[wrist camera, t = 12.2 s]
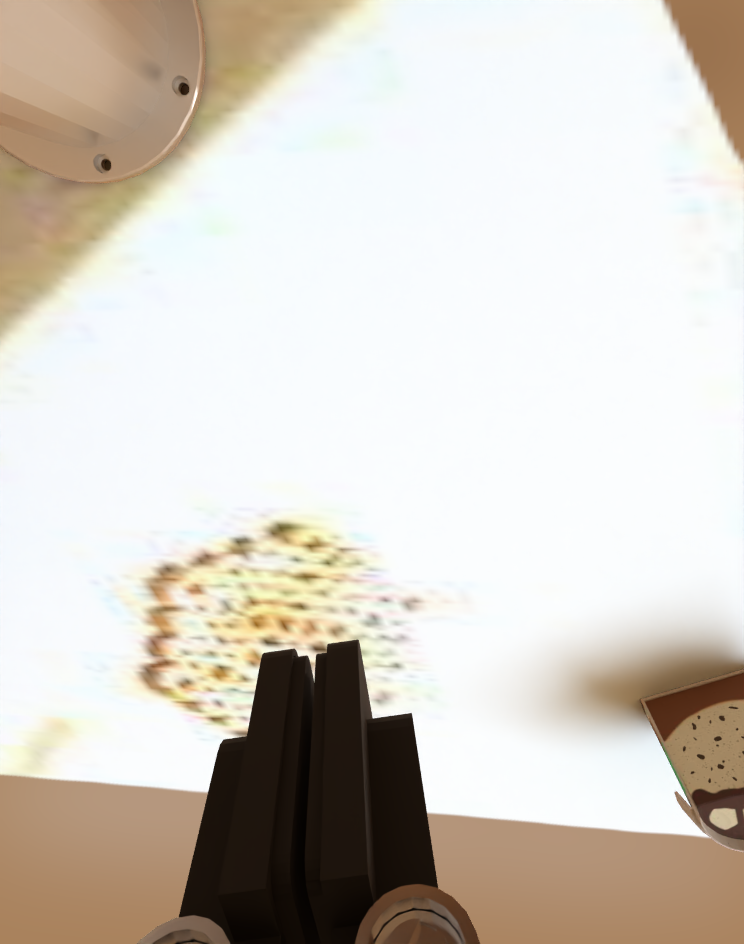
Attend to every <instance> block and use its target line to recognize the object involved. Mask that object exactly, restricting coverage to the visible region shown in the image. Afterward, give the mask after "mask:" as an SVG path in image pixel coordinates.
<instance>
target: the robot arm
mask: <svg viewBox="0 0 744 944" xmlns="http://www.w3.org/2000/svg"><path fill="white" fill-rule="evenodd" d="M205 60H206V46H205V38H204V30H203V22H202V17H201V14H200V10H199V7H198V3H197V0H0V147H1V148H3V149H4V150H5V151H6V152H8V153H9V154H11V155H12V156H14V157H15V158H17V159H19V160H20V161H22V162H23V163H25V164H27V165H28V166H30V167H32V168H35V169H37V170H40V171H42V172H44V173H47V174H49V175H52V176H54V177H58V178H62V179H67V180H71V181H77V182H86V183H95V184H98V183H108V182H119V181H122V180H125V179H128V178H131V177H135V176H138V175H141V174H142V173H144V172H146V171H147V170H149V169H151V168H152V167H154V166H156V165H157V164H159V163H160V162H161V161H162V160H163V159H164V158H166V157H167V156H168V155H169V154H170V153H171V152H172V151H173V150H174V149H175V148H176V147H177V145H178V144H179V142H180V141H181V139H182V138H183V136H184V135H185V134H186V132H187V131H188V129H189V128H190V125H191V123H192V120H193V118H194V116H195V113H196V111H197V108H198V106H199V103H200V98H201V94H202V89H203V84H204V79H205ZM183 85H188V86H189V93H188V94H187V95H182V94H181V87H182V86H183ZM107 160H109V161H110V162H111V169H110V170H108V171H107V170H106V169H105V167H104V163H105V161H107ZM137 944H480V942H479V939H478V936H477V933H476V930H475V928H474V926H473V924H472V922H471V920H470V918H469V916H468V914H467V912H466V911H465V910H464V909H463V908H462V906H461V905H460V904H459V903H458V902H457V901H456V900H455V899H454V898H453V897H452V896H450V895H448V894H447V893H445V892H443V891H442V890H440V889H438V884H437V877H436V871H435V865H434V857H433V851H432V845H431V837H430V831H429V824H428V818H427V811H426V804H425V798H424V791H423V784H422V778H421V771H420V764H419V758H418V751H417V744H416V738H415V731H414V725H413V718H412V713H409V714H402V715H395V716H388V717H381V718H374V719H373V718H372V712H371V707H370V701H369V695H368V689H367V684H366V678H365V672H364V666H363V660H362V655H361V649H360V644H359V640H352V641H345V642H338V643H331V644H328V645H327V653H322V654H317V655H316V665H315V683H314V679H313V674H312V670H311V665H310V661H309V658H308V656H300V657H298V655H297V652H296V650H295V649H289V650H282V651H275V652H267V653H264V654H263V655H262V658H261V663H260V669H259V674H258V679H257V685H256V690H255V696H254V701H253V706H252V712H251V717H250V723H249V728H248V733H247V736H246V737H239V738H232V739H225V740H223V741H222V743H221V744H220V747H219V750H218V753H217V757H216V762H215V766H214V770H213V774H212V779H211V783H210V787H209V791H208V795H207V800H206V804H205V809H204V813H203V817H202V821H201V825H200V830H199V834H198V838H197V842H196V847H195V851H194V855H193V859H192V863H191V868H190V872H189V876H188V881H187V885H186V889H185V893H184V897H183V901H182V906H181V910H180V914H179V918H175V919H173V920H170V921H168V922H166V923H164V924H162V925H160V926H157V927H156V928H155V929H154V930H152V931H151V932H150V933H149V934H147V935H146V936H145V937H144V938H142V939H141V940H140V941H139V942H138V943H137Z"/></svg>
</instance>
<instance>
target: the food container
mask: <svg viewBox="0 0 744 944" xmlns="http://www.w3.org/2000/svg"><path fill="white" fill-rule="evenodd" d="M640 700H641V703H642V706H643V709H644V711H645V713H646V715H647V717H648V720H649V722H650V724H651V726H652V728H653V730H654V732H655V734H656V736H657V738H658V740H659V742H660V744H661V746H662V748H663V750H664V752H665V754H666V756H667V758H668V760H669V762H670V765H671V767H672V769H673V771H674V773H675V775H676V777H677V779H678V781H679V783H680V785H681V787H682V789H683V791H684V793H685V795H686V797H687V799H688V801H689V803H690V805H691V807H690V806H689V805H688V803H687V802H686V801H685V800H684V799H683V798H682V797H681V796H680V795H679V793H678V792H677V791H676V792H675V795H676V798H677V801H678V803H679V804H680V806H681V808H682V809H683V810H684V811H685V813H686V814H687V815H688V816H689V817H690V818H691V819H692V821H693V822H694V823H695V824H696V825H697V826H698V827H699V828H700V829H701V830H702V831H703V832H704V833H705V834H707V835H708V836H710V837H711V838H712V839H713V840H714V841H715V842H717V843H718V844H720V845H722V846H724V847H726V848H729V849H732V850H736V851H740V852H744V669H742V670H738V671H735V672H732V673H728V674H725V675H721V676H718V677H714V678H711V679H707V680H704V681H701V682H697V683H694V684H690V685H687V686H683V687H680V688H677V689H673V690H670V691H666V692H663V693H659V694H656V695H652V696H649V697H646V698H642V699H640Z"/></svg>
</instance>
